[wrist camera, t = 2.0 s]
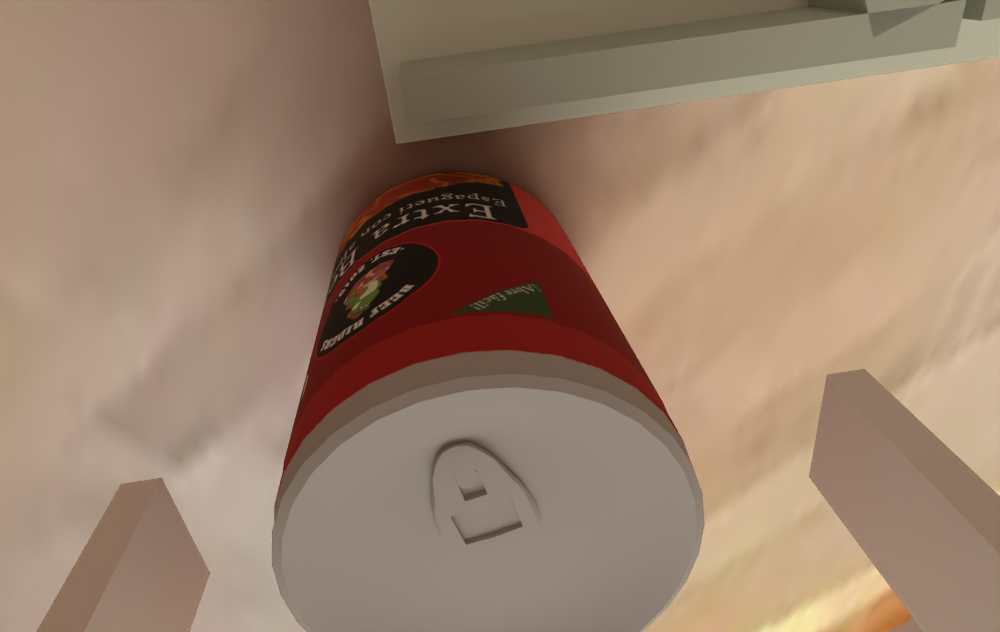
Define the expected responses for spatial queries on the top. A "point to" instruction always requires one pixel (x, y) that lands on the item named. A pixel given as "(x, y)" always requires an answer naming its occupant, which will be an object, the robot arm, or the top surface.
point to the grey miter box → (646, 53)
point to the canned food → (477, 434)
